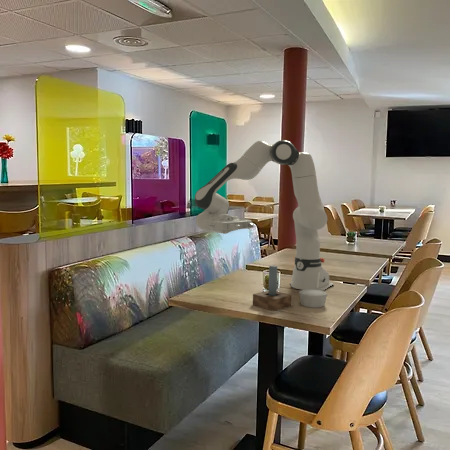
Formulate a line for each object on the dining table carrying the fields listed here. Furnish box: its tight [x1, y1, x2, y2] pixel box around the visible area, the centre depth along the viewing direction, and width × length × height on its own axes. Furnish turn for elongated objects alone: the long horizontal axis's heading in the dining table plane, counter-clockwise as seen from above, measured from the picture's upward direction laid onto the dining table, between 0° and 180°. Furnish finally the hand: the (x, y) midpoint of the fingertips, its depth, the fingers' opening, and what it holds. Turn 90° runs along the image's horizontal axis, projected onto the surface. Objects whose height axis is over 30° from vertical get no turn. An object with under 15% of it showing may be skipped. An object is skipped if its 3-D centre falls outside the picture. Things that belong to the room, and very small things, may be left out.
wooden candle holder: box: [252, 290, 293, 312], centre depth 186 cm, size 11×11×4 cm
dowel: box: [267, 265, 278, 297], centre depth 186 cm, size 3×3×16 cm
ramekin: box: [298, 289, 328, 309], centre depth 189 cm, size 11×11×5 cm
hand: (245, 226), depth 202 cm, fingers open, 8 cm apart
